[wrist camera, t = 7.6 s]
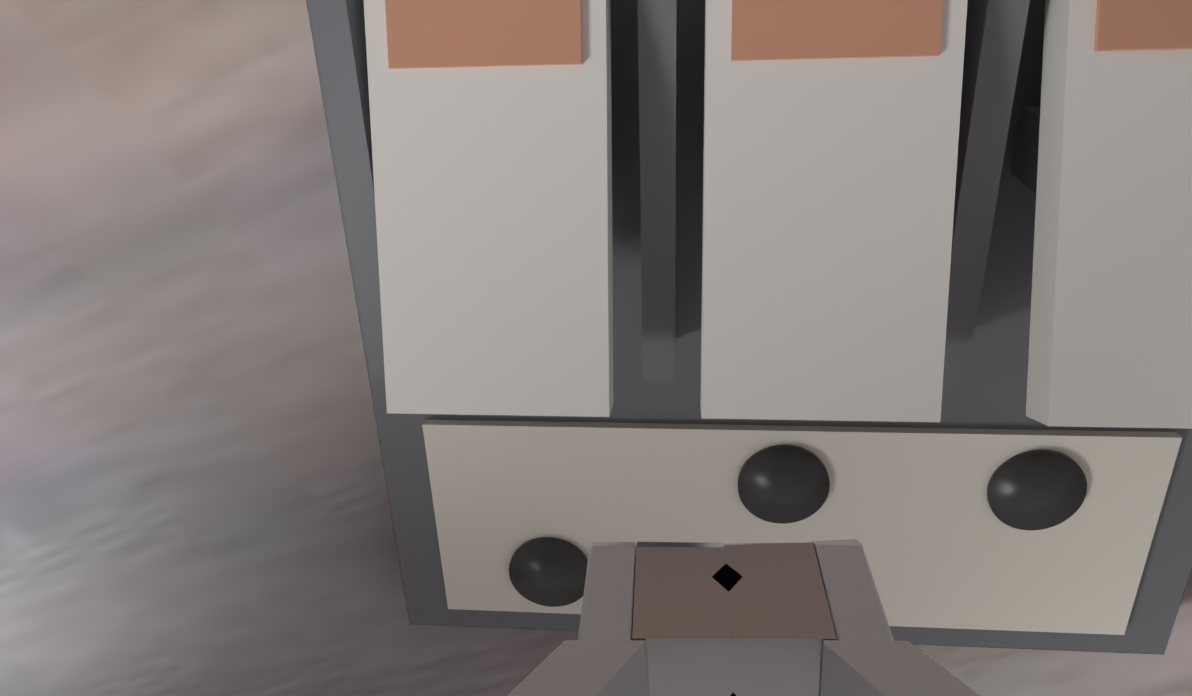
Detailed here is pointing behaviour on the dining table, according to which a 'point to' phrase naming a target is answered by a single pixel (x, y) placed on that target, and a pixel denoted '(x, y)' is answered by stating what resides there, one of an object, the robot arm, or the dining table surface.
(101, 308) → the dining table surface
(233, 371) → the dining table surface
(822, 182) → the switch middle
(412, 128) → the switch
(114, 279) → the dining table surface
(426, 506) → the switch unit
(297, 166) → the dining table surface
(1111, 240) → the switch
